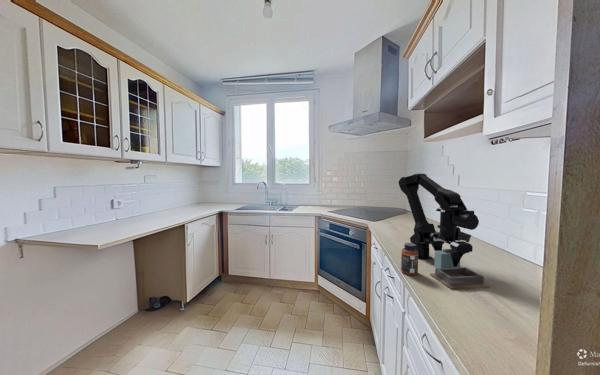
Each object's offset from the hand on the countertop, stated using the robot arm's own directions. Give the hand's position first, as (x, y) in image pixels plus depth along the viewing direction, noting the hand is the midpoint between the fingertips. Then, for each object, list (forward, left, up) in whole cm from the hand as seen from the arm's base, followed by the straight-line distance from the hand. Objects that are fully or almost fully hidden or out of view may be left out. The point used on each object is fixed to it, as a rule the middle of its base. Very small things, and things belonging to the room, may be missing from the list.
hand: (446, 261), depth 95 cm
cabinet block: (0, 0, -3) cm, 3 cm away
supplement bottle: (+2, -17, -3) cm, 17 cm away
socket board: (+11, -3, -3) cm, 11 cm away
